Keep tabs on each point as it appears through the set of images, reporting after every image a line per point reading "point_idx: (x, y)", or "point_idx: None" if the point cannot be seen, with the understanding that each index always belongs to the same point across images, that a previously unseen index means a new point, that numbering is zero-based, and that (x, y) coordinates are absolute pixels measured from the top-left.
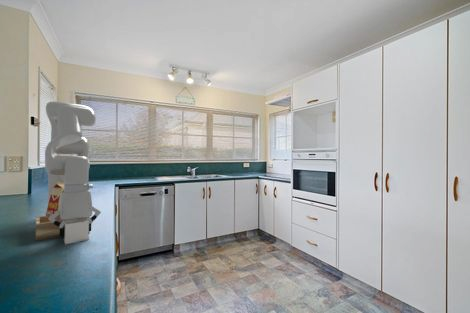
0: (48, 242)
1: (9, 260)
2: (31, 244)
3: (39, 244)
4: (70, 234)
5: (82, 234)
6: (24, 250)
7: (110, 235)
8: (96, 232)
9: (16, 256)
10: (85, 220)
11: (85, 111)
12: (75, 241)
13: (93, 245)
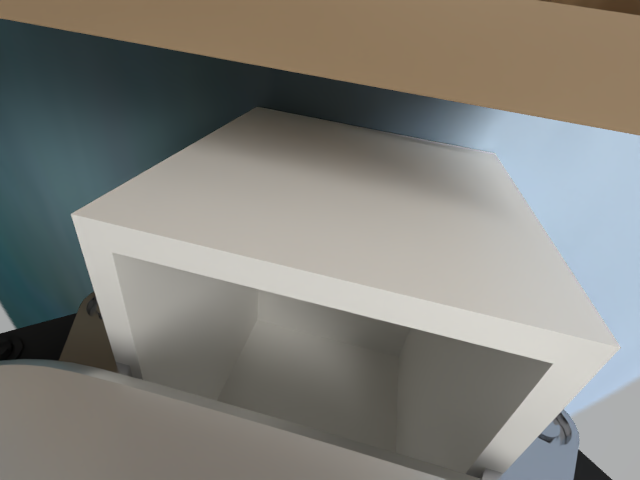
0: (137, 159)
1: (20, 315)
2: (10, 94)
3: (79, 156)
4: (257, 388)
5: (355, 396)
6: (24, 219)
7: (592, 401)
8: (614, 214)
9: (27, 288)
10: (443, 462)
11: None
12: (314, 339)
13: None
